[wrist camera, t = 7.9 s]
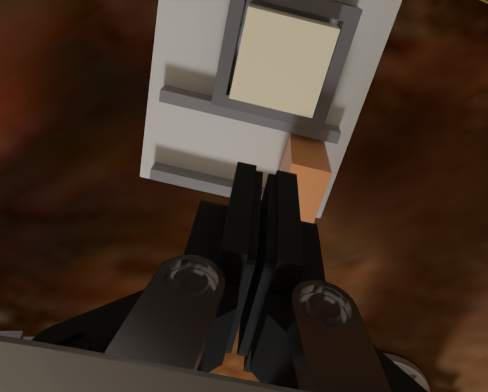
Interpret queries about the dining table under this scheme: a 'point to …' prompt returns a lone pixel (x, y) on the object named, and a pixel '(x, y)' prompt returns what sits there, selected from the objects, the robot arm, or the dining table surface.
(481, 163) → the dining table surface
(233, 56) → the control board
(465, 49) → the dining table surface
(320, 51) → the cream button
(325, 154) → the orange rectangular prism
